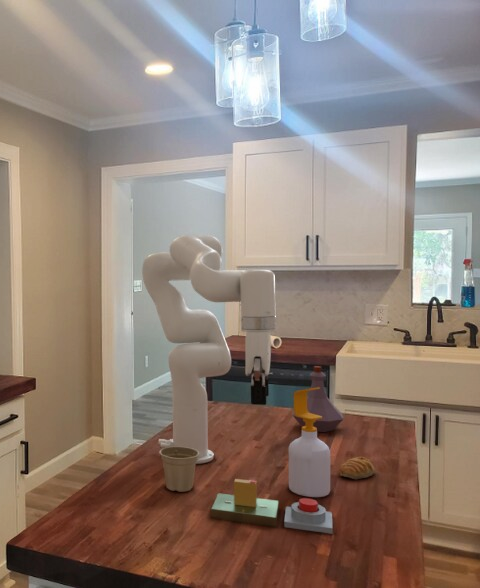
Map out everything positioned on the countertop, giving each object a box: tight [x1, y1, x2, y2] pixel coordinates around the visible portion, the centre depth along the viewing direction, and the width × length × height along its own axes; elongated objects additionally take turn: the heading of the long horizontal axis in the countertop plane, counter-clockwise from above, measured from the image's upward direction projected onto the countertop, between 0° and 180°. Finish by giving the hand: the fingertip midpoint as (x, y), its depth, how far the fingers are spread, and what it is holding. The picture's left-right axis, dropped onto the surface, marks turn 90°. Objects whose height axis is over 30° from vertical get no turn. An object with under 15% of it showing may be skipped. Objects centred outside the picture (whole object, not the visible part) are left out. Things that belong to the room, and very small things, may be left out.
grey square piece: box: [283, 501, 334, 535], centre depth 118 cm, size 9×8×3 cm
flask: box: [292, 365, 344, 433], centre depth 187 cm, size 16×16×20 cm
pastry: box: [338, 456, 376, 480], centre depth 145 cm, size 9×7×4 cm
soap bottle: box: [288, 387, 331, 498], centre depth 135 cm, size 9×9×25 cm
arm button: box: [298, 497, 319, 512], centre depth 118 cm, size 4×4×2 cm
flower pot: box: [159, 446, 199, 493], centre depth 138 cm, size 9×9×9 cm
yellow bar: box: [233, 478, 258, 507], centre depth 123 cm, size 4×2×5 cm, turn 68°
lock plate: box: [210, 492, 280, 528], centre depth 123 cm, size 13×9×2 cm
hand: (260, 400), depth 131 cm, fingers open, 9 cm apart
